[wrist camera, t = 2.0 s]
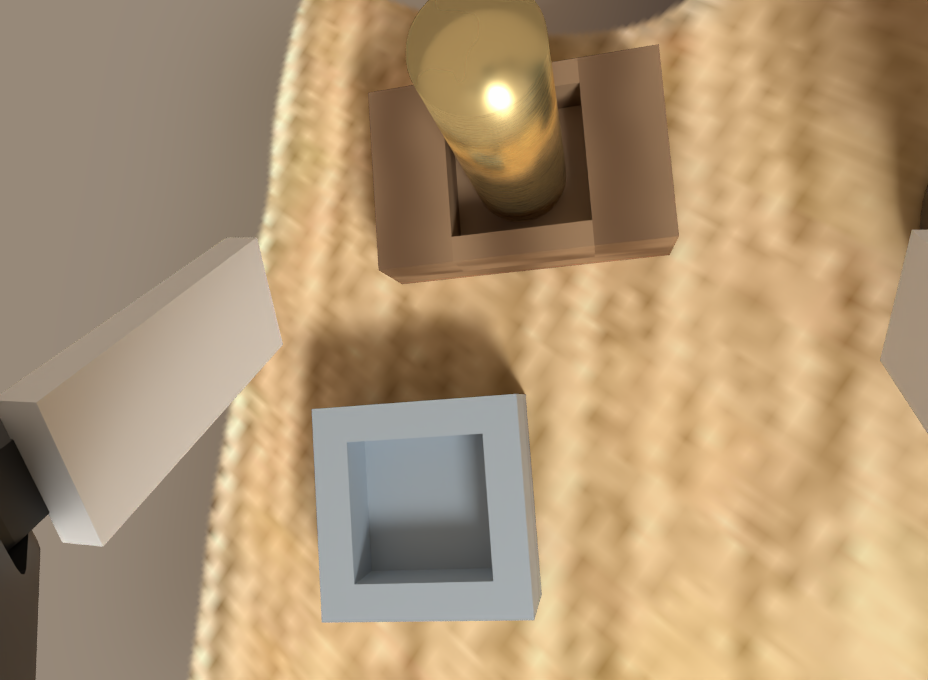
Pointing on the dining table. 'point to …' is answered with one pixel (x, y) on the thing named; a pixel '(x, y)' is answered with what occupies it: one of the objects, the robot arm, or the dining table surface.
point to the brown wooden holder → (575, 214)
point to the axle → (493, 99)
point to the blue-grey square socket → (426, 511)
